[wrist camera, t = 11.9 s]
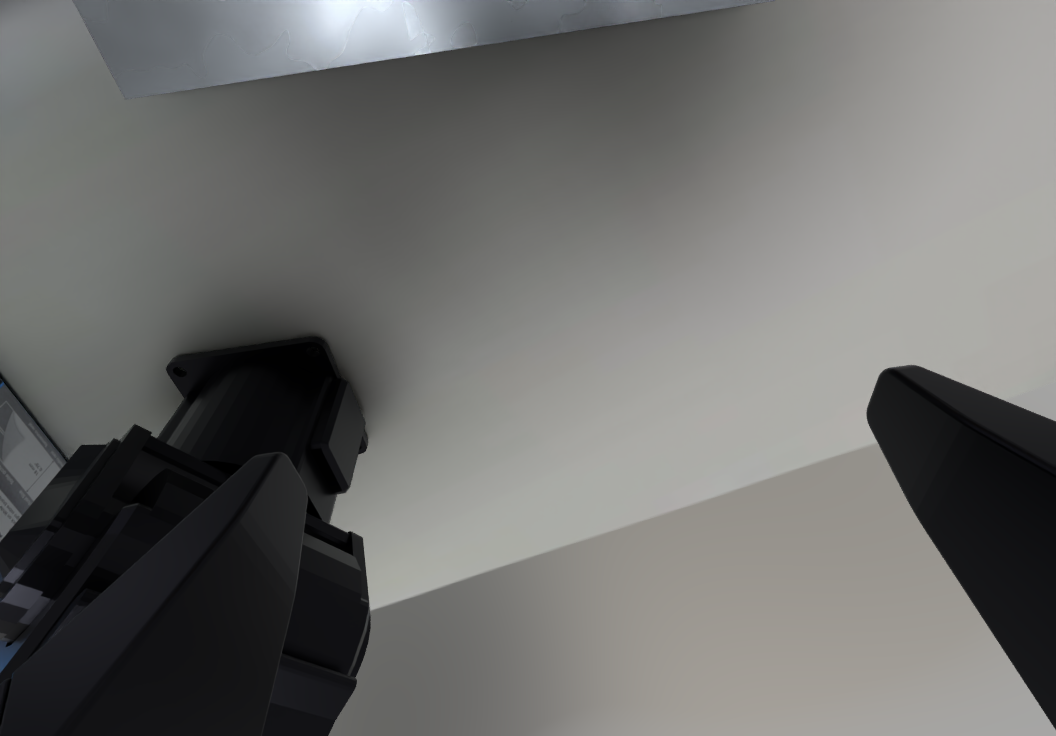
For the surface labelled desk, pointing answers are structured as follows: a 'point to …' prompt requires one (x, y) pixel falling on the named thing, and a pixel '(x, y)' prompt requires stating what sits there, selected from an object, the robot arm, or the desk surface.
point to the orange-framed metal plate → (325, 33)
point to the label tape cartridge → (22, 460)
